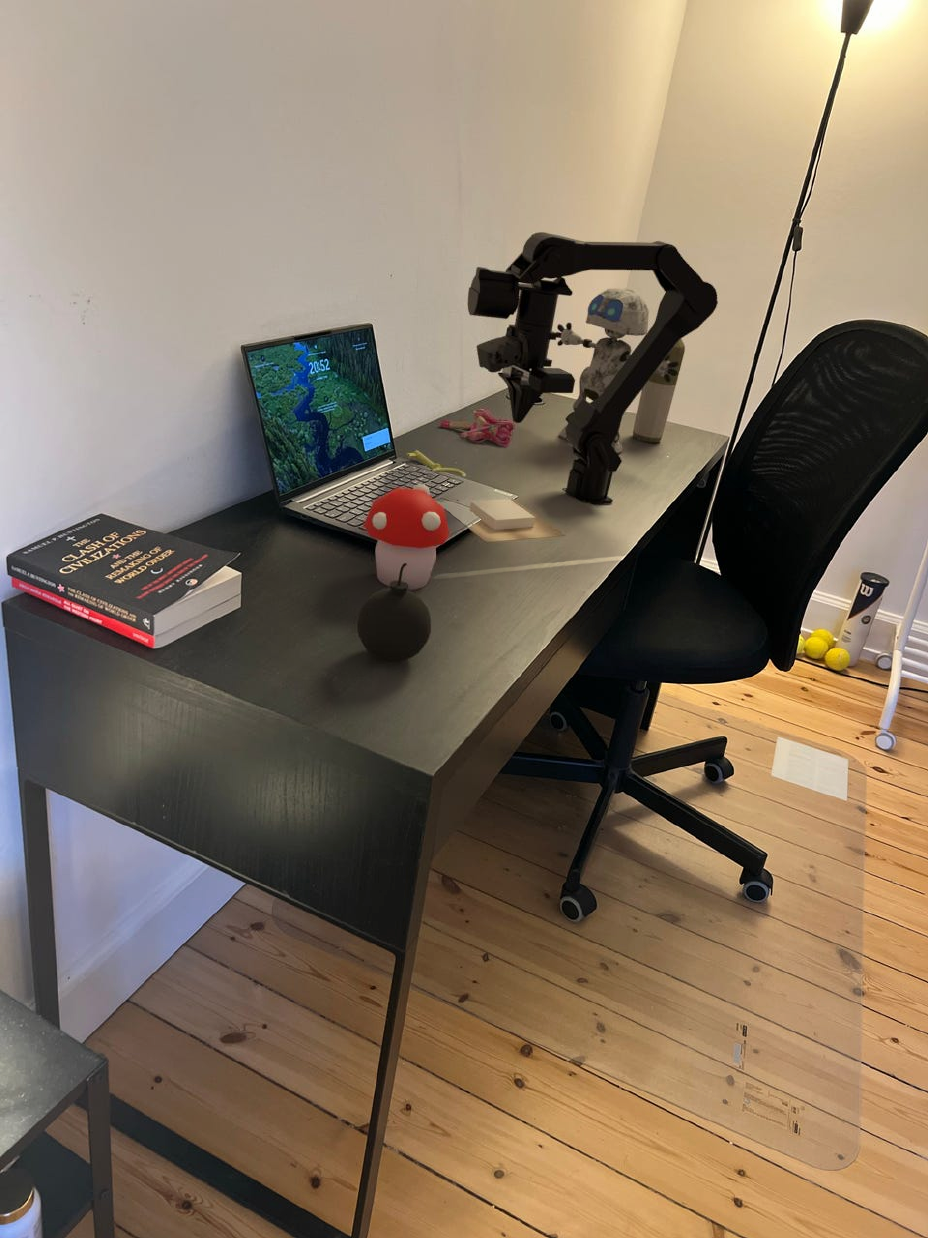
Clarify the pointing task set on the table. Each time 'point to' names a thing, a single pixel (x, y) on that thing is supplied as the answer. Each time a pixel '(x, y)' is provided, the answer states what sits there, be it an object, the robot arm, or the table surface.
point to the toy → (484, 428)
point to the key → (431, 463)
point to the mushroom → (406, 534)
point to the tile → (502, 514)
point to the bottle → (657, 401)
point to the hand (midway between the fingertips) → (516, 422)
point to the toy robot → (610, 343)
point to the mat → (516, 530)
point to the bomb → (394, 623)
